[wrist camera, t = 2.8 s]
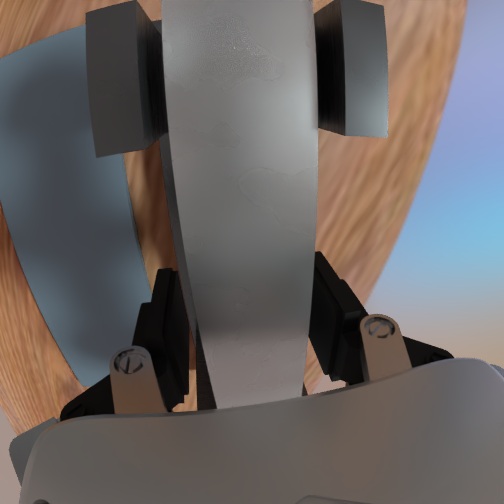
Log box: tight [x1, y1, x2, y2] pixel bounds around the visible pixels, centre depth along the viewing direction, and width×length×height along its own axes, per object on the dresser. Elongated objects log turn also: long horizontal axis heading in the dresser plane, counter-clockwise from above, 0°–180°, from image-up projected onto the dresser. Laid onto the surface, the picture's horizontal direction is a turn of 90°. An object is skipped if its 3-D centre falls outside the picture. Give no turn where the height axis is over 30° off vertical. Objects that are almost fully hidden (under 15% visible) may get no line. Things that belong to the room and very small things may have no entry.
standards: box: [86, 0, 388, 411], centre depth 13 cm, size 24×6×11 cm, turn 3°
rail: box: [161, 0, 318, 409], centre depth 10 cm, size 22×3×2 cm, turn 3°
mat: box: [0, 24, 152, 386], centre depth 17 cm, size 26×9×1 cm, turn 3°
